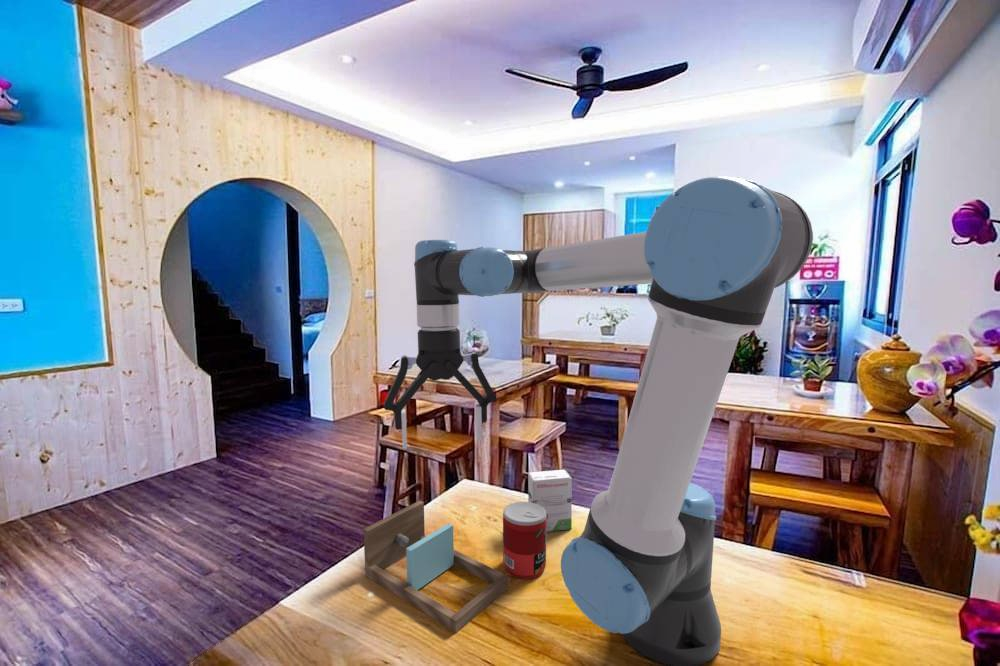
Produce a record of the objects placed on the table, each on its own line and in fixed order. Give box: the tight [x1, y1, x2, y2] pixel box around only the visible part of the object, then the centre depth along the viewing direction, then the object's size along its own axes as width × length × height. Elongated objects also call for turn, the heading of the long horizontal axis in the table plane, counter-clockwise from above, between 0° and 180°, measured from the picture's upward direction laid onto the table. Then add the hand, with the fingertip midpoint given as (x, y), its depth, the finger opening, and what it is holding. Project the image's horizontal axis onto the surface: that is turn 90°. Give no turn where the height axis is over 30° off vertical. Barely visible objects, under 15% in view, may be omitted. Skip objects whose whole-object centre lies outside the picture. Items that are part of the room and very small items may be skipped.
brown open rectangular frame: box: [363, 500, 510, 634], centre depth 84 cm, size 22×13×9 cm, turn 52°
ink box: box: [527, 469, 573, 533], centre depth 102 cm, size 9×5×12 cm, turn 99°
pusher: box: [405, 523, 455, 591], centre depth 85 cm, size 3×10×8 cm, turn 142°
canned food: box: [502, 501, 547, 580], centre depth 88 cm, size 8×8×11 cm
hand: (442, 442), depth 88 cm, fingers open, 13 cm apart
